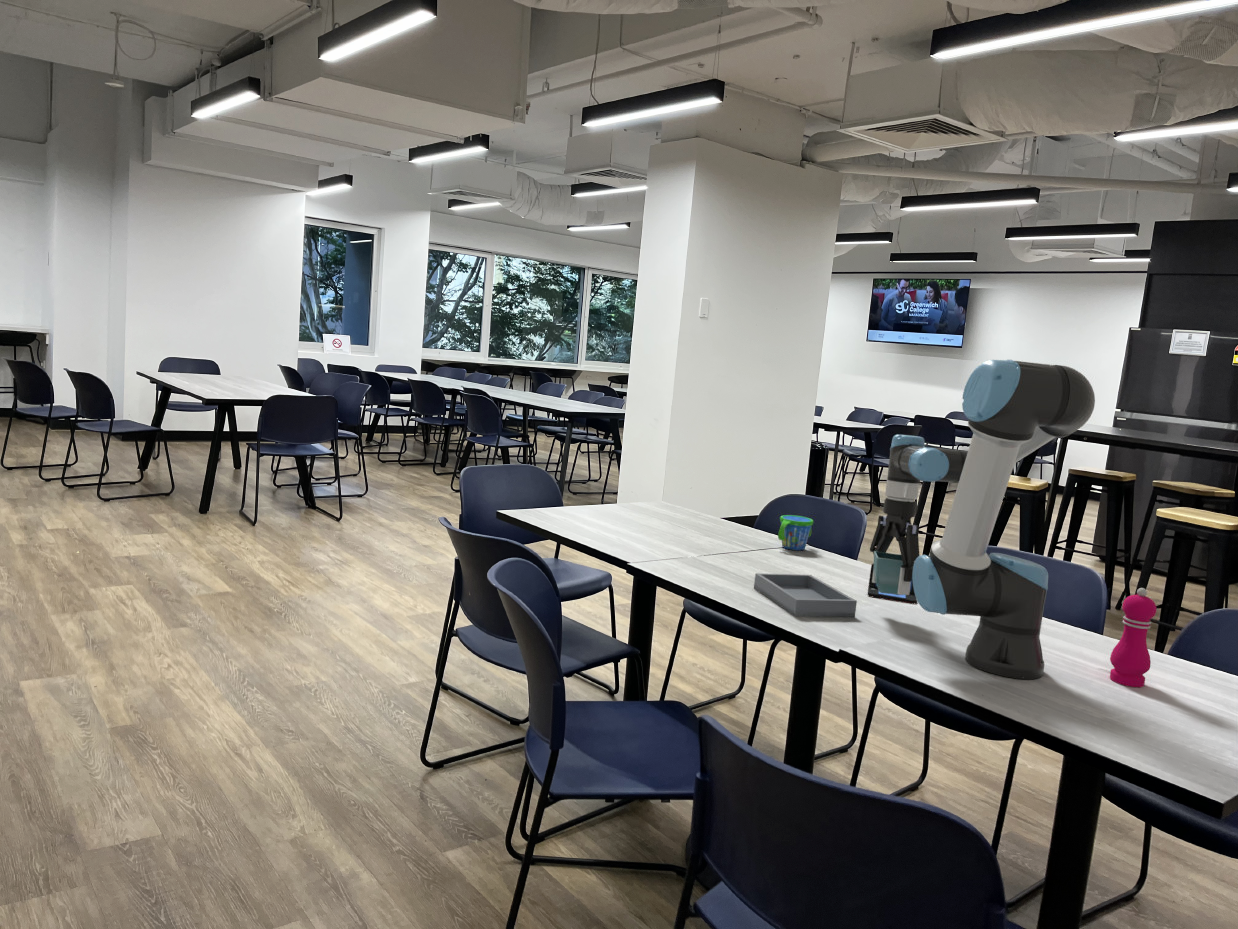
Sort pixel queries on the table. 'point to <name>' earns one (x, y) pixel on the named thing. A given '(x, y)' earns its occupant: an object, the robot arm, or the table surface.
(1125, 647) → the pepper mill
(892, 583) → the flower pot
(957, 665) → the table surface
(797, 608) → the tray
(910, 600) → the handheld game console
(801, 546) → the snack cup
